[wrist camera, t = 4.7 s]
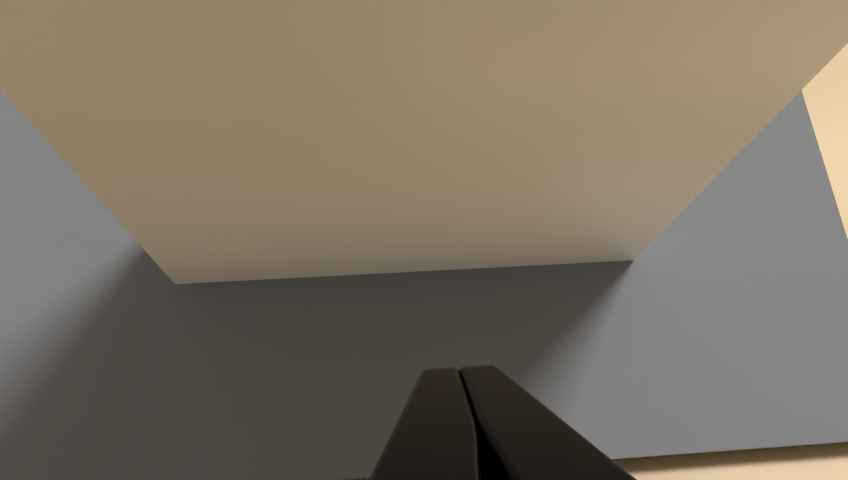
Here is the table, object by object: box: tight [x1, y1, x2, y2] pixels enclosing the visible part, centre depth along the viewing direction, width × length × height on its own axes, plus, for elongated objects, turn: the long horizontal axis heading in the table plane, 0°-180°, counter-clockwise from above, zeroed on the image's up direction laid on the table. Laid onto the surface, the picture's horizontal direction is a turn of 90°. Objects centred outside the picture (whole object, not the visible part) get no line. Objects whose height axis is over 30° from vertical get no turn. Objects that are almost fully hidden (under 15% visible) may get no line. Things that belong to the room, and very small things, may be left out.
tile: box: [0, 0, 848, 284], centre depth 12 cm, size 2×10×9 cm, turn 94°
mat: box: [0, 90, 848, 480], centre depth 18 cm, size 20×20×1 cm
